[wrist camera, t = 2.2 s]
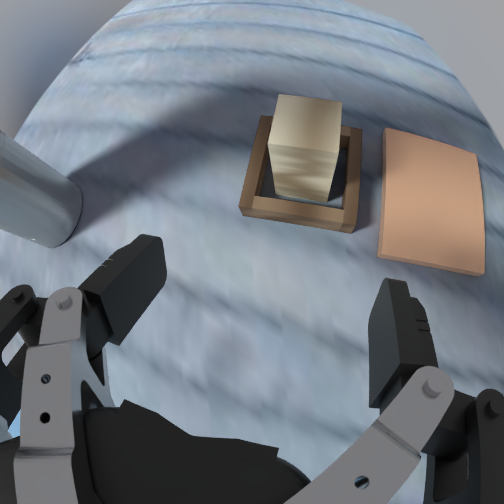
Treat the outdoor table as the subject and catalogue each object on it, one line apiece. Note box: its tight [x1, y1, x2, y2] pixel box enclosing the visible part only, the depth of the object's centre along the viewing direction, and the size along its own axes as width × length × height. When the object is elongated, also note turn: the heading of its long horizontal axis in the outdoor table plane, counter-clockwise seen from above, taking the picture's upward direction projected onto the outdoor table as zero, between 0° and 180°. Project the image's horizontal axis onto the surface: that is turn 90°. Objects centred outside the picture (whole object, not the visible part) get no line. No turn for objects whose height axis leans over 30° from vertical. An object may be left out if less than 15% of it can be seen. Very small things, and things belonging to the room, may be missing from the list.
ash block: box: [268, 94, 342, 203], centre depth 24 cm, size 5×5×9 cm
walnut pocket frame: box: [239, 115, 362, 234], centre depth 27 cm, size 10×10×2 cm
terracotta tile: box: [377, 127, 485, 276], centre depth 25 cm, size 12×14×2 cm
